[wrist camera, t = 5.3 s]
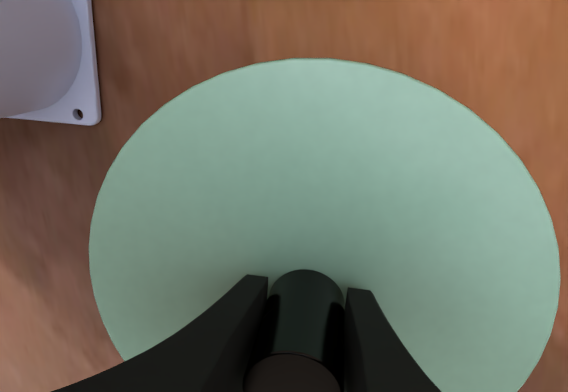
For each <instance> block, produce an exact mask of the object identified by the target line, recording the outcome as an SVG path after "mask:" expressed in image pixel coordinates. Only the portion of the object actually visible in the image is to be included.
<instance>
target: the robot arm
mask: <svg viewBox="0 0 568 392" xmlns="http://www.w3.org/2000/svg"><path fill="white" fill-rule="evenodd" d="M78 109H79V110H81V111H82V113H83V118H80V117H79V116H78V113H77V112H78ZM4 117H5V118H15V119H26V120H36V121H47V122H57V123H67V124H78V125H88V126H90V125H95V124H97V123H99V122H100V120H101V104H100V93H99V82H98V71H97V60H96V49H95V38H94V27H93V15H92V4H91V0H0V118H4ZM267 292H268V277H265V276H257V275H249V274H247V275H245V276H244V277H243V278H242V279H241V280H240V281H238V282H237V283H236V284H235V285H234V286H233V287H232V288H231V289H230V290H229V291H228V292H227V293H225V294H224V295H223V296H222V297H221V298H220V299H219V300H217V301H216V302H215V303H214V304H213V305H211V306H210V307H209V308H208V309H207V310H206V311H204V312H203V313H202V314H201V315H199V316H198V317H197V318H195V319H194V320H193V321H191V322H190V323H189V324H187V325H186V326H185V327H183V328H182V329H180V330H179V331H178V332H176V333H175V334H173V335H172V336H170V337H169V338H167V339H165V340H164V341H162V342H160V343H159V344H157V345H155V346H154V347H152V348H150V349H148V350H146V351H144V352H142V353H140V354H138V355H137V356H135V357H133V358H131V359H129V360H127V361H125V362H123V363H121V364H119V365H117V366H115V367H112V368H110V369H108V370H106V371H103V372H101V373H99V374H96V375H94V376H92V377H89V378H87V379H84V380H82V381H79V382H77V383H74V384H71V385H69V386H66V387H63V388H60V389H57V390H54V391H51V392H243V388H242V383H243V377H244V374H245V370H246V367H247V364H248V361H249V357H250V354H251V351H252V348H253V344H254V341H255V338H256V335H257V331H258V328H259V325H260V322H261V318H262V315H263V312H264V309H265V305H266V302H267ZM344 342H345V351H344V392H441V391H440V389H439V388H438V387H437V386H436V385H435V384H434V383H433V382H432V381H431V380H430V378H429V377H428V376H427V375H426V374H425V372H424V371H423V370H422V369H421V367H420V366H419V365H418V364H417V362H416V361H415V360H414V358H413V357H412V356H411V354H410V353H409V352H408V350H407V349H406V347H405V346H404V345H403V343H402V342H401V340H400V339H399V337H398V336H397V334H396V333H395V331H394V330H393V328H392V326H391V325H390V323H389V322H388V320H387V318H386V316H385V315H384V313H383V311H382V310H381V308H380V306H379V304H378V302H377V300H376V298H375V296H374V294H373V293H372V292H371V291H370V290H365V289H357V288H349V287H348V289H347V296H346V303H345V311H344Z"/></svg>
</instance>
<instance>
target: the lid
mask: <svg viewBox="0 0 568 392" xmlns="http://www.w3.org/2000/svg"><path fill="white" fill-rule="evenodd" d="M89 264H90V276H91V281H92V286H93V292H94V297H95V300H96V303H97V306H98V309H99V312H100V315H101V318H102V321H103V323H104V325H105V327H106V330H107V332H108V334H109V336H110V338H111V340H112V342H113V344H114V345H115V347H116V349H117V350H118V352H119V354H120V355H121V357H122V358H123V360H124V362H125V361H127V360H129V359H131V358H133V357H135V356H137V355H138V354H140V353H142V352H144V351H146V350H148V349H150V348H152V347H154V346H155V345H157V344H159V343H160V342H162V341H164V340H165V339H167V338H169V337H170V336H172V335H173V334H175V333H176V332H178V331H179V330H180V329H182V328H183V327H185V326H186V325H187V324H189V323H190V322H191V321H193V320H194V319H195V318H197V317H198V316H199V315H201V314H202V313H203V312H204V311H206V310H207V309H208V308H209V307H210V306H211V305H213V304H214V303H215V302H216V301H217V300H219V299H220V298H221V297H222V296H223V295H224V294H225V293H227V292H228V291H229V290H230V289H231V288H232V287H233V286H234V285H235V284H236V283H237V282H238V281H240V280H241V279H242V278H243V277H244V276H245V275H247V274H249V275H257V276H265V277H268V292H267V302H266V305H265V309H264V312H263V315H262V318H261V322H260V325H259V328H258V331H257V335H256V338H255V341H254V344H253V348H252V351H251V354H250V357H249V361H248V364H247V367H246V370H245V374H244V377H243V383H242V388H243V392H344V351H345V342H344V311H345V303H346V296H347V289H348V287H349V288H357V289H365V290H370V291H371V292H372V293H373V294H374V296H375V298H376V300H377V302H378V304H379V306H380V308H381V310H382V311H383V313H384V315H385V316H386V318H387V320H388V322H389V323H390V325H391V326H392V328H393V330H394V331H395V333H396V334H397V336H398V337H399V339H400V340H401V342H402V343H403V345H404V346H405V347H406V349H407V350H408V352H409V353H410V354H411V356H412V357H413V358H414V360H415V361H416V362H417V364H418V365H419V366H420V367H421V369H422V370H423V371H424V372H425V374H426V375H427V376H428V377H429V378H430V380H431V381H432V382H433V383H434V384H435V385H436V386H437V387H438V388H439V389H440V391H441V392H517V391H518V390H519V389H520V388H521V386H522V385H523V384H524V383H525V381H526V380H527V378H528V377H529V375H530V374H531V372H532V370H533V369H534V367H535V366H536V364H537V363H538V361H539V359H540V357H541V355H542V353H543V350H544V348H545V346H546V344H547V341H548V339H549V337H550V335H551V331H552V327H553V323H554V320H555V316H556V312H557V308H558V299H559V289H560V264H559V250H558V244H557V240H556V236H555V232H554V227H553V223H552V219H551V216H550V214H549V211H548V209H547V207H546V204H545V202H544V200H543V197H542V195H541V192H540V190H539V188H538V186H537V184H536V183H535V181H534V180H533V178H532V177H531V175H530V173H529V172H528V170H527V169H526V167H525V165H524V164H523V162H522V161H521V159H520V158H519V157H518V156H517V154H516V153H515V152H514V151H513V150H512V149H511V148H510V146H509V145H508V144H507V143H506V142H505V141H504V139H503V138H502V137H501V136H500V135H499V134H498V133H497V132H496V131H495V130H494V129H493V128H492V127H490V126H489V125H488V124H487V123H486V122H484V121H483V120H482V119H481V118H480V117H479V116H477V115H476V114H475V113H474V112H473V111H472V110H470V109H469V108H467V107H466V106H464V105H463V104H461V103H459V102H458V101H456V100H455V99H453V98H451V97H450V96H448V95H447V94H445V93H443V92H442V91H440V90H439V89H437V88H435V87H432V86H430V85H428V84H426V83H423V82H421V81H419V80H417V79H414V78H412V77H410V76H407V75H405V74H403V73H400V72H397V71H393V70H390V69H386V68H383V67H379V66H376V65H372V64H369V63H363V62H356V61H349V60H342V59H335V58H289V59H282V60H275V61H267V62H260V63H256V64H252V65H249V66H245V67H242V68H238V69H235V70H231V71H228V72H224V73H221V74H219V75H217V76H215V77H212V78H210V79H208V80H206V81H204V82H201V83H199V84H197V85H195V86H192V87H191V88H189V89H188V90H186V91H184V92H183V93H181V94H180V95H178V96H177V97H175V98H173V99H172V100H170V101H169V102H167V103H166V104H164V105H163V106H162V107H161V108H160V109H159V110H157V111H156V112H155V113H154V114H153V115H152V116H151V117H149V118H148V119H147V120H146V121H145V122H144V123H142V124H141V126H140V127H139V128H138V129H137V130H136V132H135V133H134V134H133V135H132V136H131V137H130V139H129V140H128V141H127V142H126V143H125V145H124V146H123V147H122V149H121V150H120V152H119V154H118V155H117V157H116V159H115V160H114V162H113V163H112V165H111V167H110V168H109V170H108V172H107V175H106V177H105V179H104V182H103V184H102V186H101V189H100V191H99V194H98V196H97V200H96V204H95V208H94V212H93V216H92V220H91V228H90V239H89Z"/></svg>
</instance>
